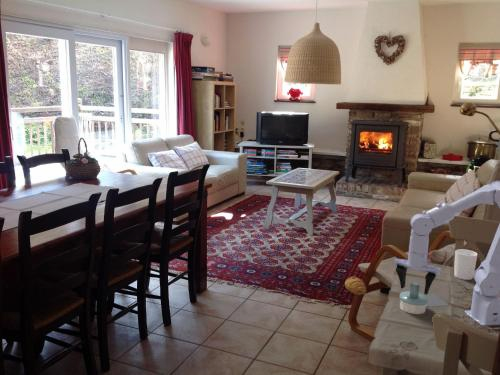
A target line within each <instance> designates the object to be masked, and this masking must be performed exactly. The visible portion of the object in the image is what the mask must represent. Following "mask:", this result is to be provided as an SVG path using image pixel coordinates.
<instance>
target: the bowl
mask: <svg viewBox="0 0 500 375" xmlns="http://www.w3.org/2000/svg"><path fill="white" fill-rule="evenodd" d="M399 300H400V301H399V308H400V310H402V311H403V312H405V313H409V314H410V315H411V314H413V315H422V314H425V312H426V308H427V307H426V304H425V305H411V304H408V303H405V302H403V301H402V300H401V299H400V298H399Z"/></svg>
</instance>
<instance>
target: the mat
mask: <svg viewBox="0 0 500 375" xmlns="http://www.w3.org/2000/svg"><path fill="white" fill-rule="evenodd" d="M424 295H425V294H424ZM425 296H427V297H428V303H427V304H426V308H430V307H432V308H433V307H447V306H448V307H449V306H450V305H449V304H448V303H447V302H446V301H444V300H443V299H442V298H440V297H439V296H438V295H437V294H436V293H428V294H427V295H425Z"/></svg>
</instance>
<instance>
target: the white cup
mask: <svg viewBox="0 0 500 375" xmlns="http://www.w3.org/2000/svg"><path fill="white" fill-rule="evenodd" d="M477 258H478V253H477V252H475V251H473V250H471V249H465V248H462V249H461V248H459V249H456V250H455V251H454V267H453V268H454V269H453V270H454V274H453V276H454V277H455V278H457V279H459V280H465V281H470V280H471V281H472V279H474V276H473V275H474V272H475V271H476V264H477Z"/></svg>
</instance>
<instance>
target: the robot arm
mask: <svg viewBox="0 0 500 375" xmlns="http://www.w3.org/2000/svg"><path fill="white" fill-rule="evenodd" d="M480 204H485V205H491V206H494V204H497V206H498V208H499V209H500V180H494V181H493V182H491V183H489V184H485V185H483V186H481V187H480V188H478V189H476V190H474V191H472V192H471V193H469V194H467V195H466V196H463V197H461V198H459V199H458V200H456V201H454V202H452V203H446V202H443V203H441V202H438V203H436V206H435V207H433V208H431V209H428V210H427V211H426V210H423V211H422V213H416V214H414V215H413V216H412V217H411V220H410V221H409V224H410V226H411V227H410V228H411V231H410V237H409V245H408V255H407V256H408V258H407V259H403V258H401V259H400V258H395V259H394V260H393V266H396V268H395V272H396V274H397V276H398V280H399V283H400V289H404V288H405V287H406V277H407V272H408V269H411V270H415V271H419V272H424V273H426V274H425V276H424V277H425V286H424V287H425V288H424V295H427V294H429V291H430V288H431V287H432V286H431V285H432V283H433V282H434V281H435V278H436V276H437V277H440V275H441V273H442V272H441V271H442V270H441V269H442V268H440V267H437V266H433V265H432V264H431V265H430V264H428V263H427V261H428V252H429V251H428V250H429V242H430V238H429V237H430V236H429V235H430V233H432V230H433V229H435V228H439V227H440V226H442V225H444V224H446V223H448V222H451V221H452V220H454V218H455V216H456V214H458V213H461V212H463V211H465V210H468V209H471V208H473V207H475V206H477V205H480ZM473 280H474V281H475V285H474V286H473V292H472V298H471V299H472V300H471V306H470V307H471V308H470V309H469V310H464V313H465V314H467V315H468V316H469V317H470V318H471V319H473V320H474V321H475V322H476V323H478V324H479V325H481V326H498V325H500V223H498V227H497V229H496V232H495V234H494V238H493V240H492V242H491V245H490V247H489V250H488V252H487V254H486V258H485V259H484V260H483V261H481V262H480V265H479V267H478V268H477V269H475V270H474V274H473Z"/></svg>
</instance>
